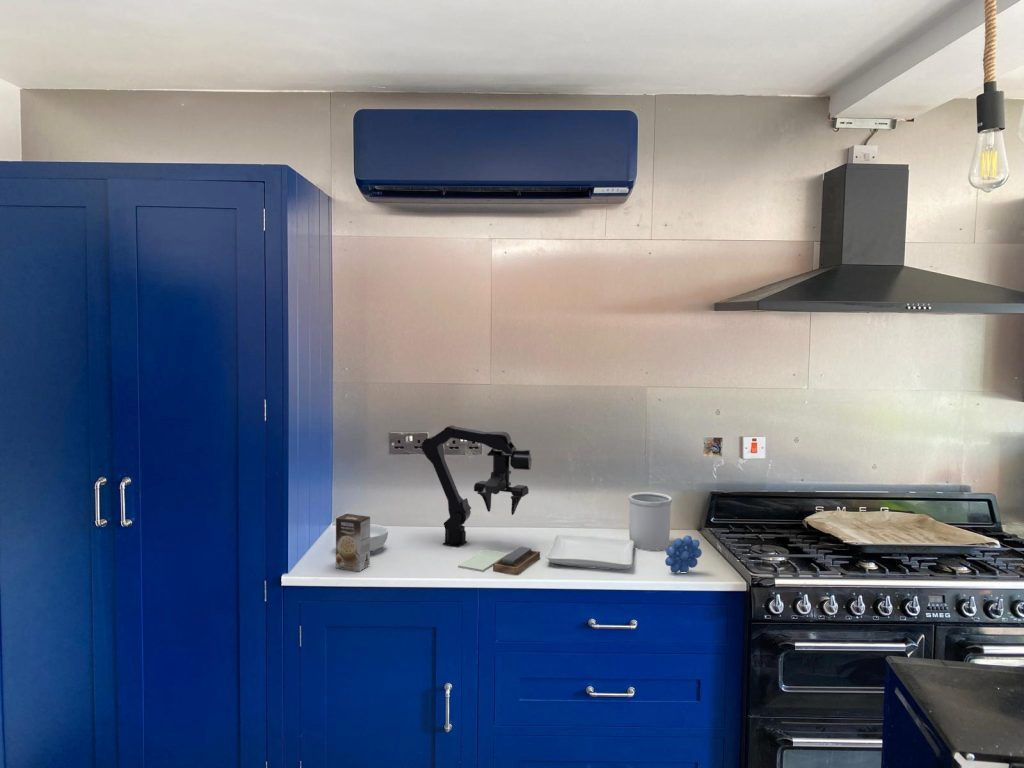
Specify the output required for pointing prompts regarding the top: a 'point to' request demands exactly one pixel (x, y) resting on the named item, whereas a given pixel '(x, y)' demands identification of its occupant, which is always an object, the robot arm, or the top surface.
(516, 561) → the gunmetal bar
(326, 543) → the top surface
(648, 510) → the utensil holder
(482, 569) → the sage mat
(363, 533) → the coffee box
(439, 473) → the robot arm
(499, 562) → the walnut slot tray
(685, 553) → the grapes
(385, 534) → the cereal bowl
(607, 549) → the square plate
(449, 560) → the top surface
